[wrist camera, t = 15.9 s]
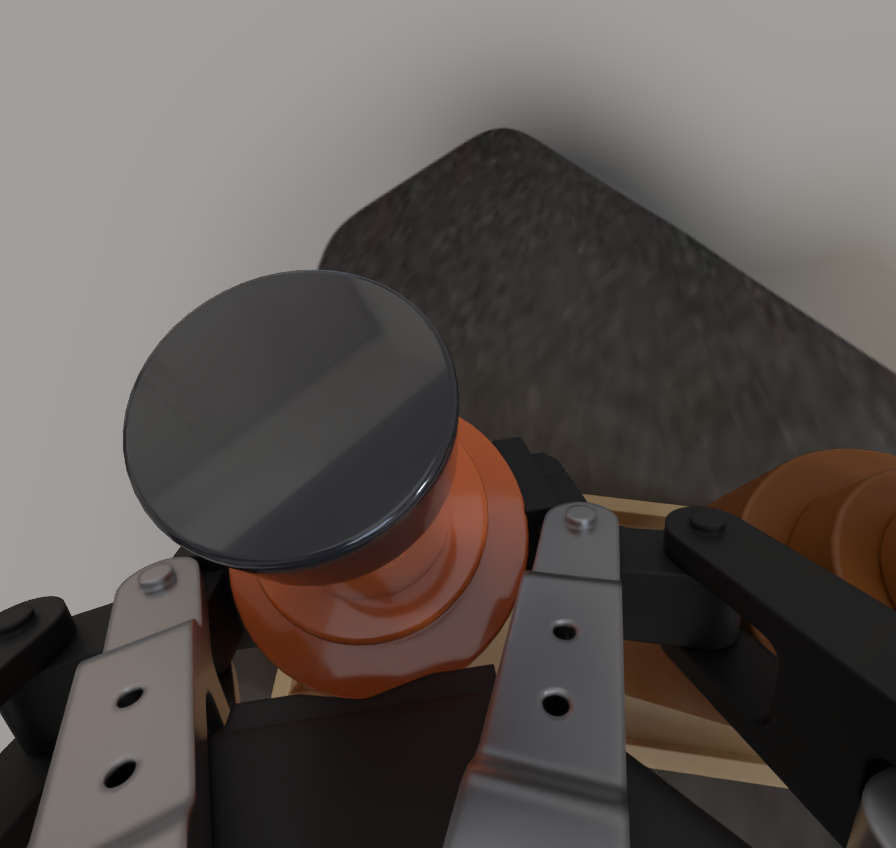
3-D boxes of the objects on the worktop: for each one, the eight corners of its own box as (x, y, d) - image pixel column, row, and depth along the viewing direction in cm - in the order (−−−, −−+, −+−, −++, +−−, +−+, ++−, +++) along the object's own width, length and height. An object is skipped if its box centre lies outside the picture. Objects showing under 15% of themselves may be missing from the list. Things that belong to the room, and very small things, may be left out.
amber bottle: (625, 729, 18) (2038, 1427, 2) (547, 594, 20) (927, 396, 4) (737, 654, 19) (2270, 712, 3) (651, 532, 21) (1294, 177, 5)
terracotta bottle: (390, 695, 18) (-18, 1018, 2) (336, 567, 21) (-80, 293, 5) (511, 624, 19) (769, 528, 4) (448, 508, 22) (431, 114, 6)
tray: (287, 703, 19) (266, 710, 17) (338, 480, 23) (327, 463, 21) (1026, 813, 17) (1105, 836, 15) (948, 552, 21) (1003, 542, 19)
